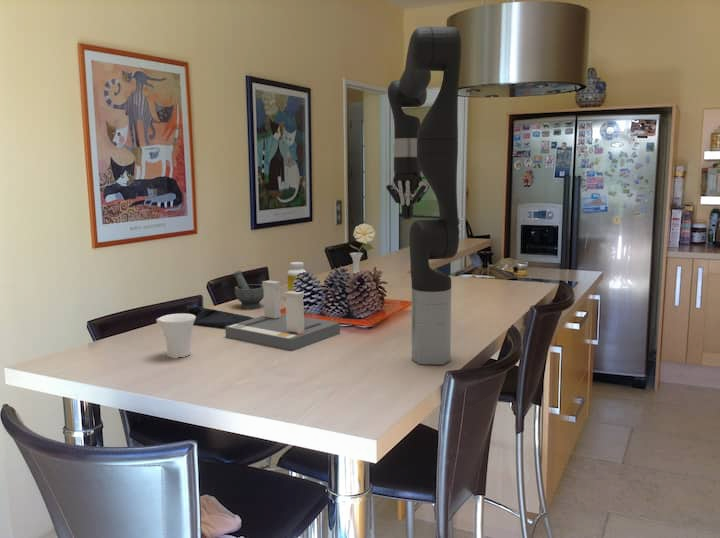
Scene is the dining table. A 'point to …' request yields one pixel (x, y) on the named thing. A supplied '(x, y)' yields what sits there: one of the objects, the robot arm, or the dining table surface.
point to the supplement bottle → (294, 273)
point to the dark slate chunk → (214, 317)
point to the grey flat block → (281, 332)
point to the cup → (177, 333)
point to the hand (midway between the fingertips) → (407, 218)
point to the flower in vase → (363, 235)
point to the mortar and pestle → (248, 292)
